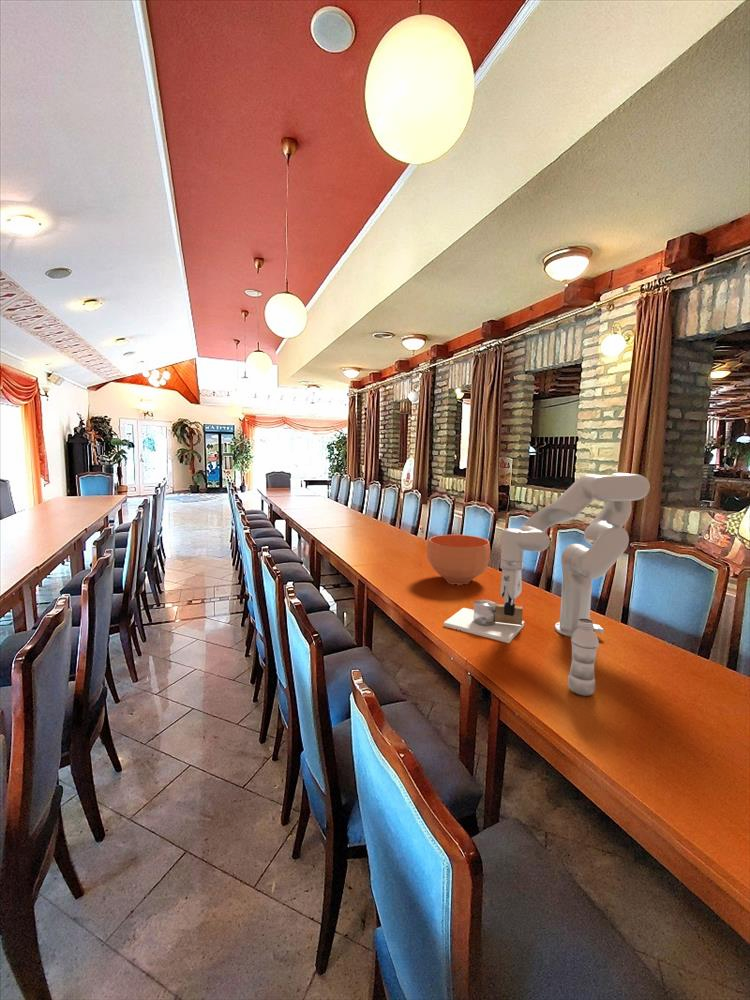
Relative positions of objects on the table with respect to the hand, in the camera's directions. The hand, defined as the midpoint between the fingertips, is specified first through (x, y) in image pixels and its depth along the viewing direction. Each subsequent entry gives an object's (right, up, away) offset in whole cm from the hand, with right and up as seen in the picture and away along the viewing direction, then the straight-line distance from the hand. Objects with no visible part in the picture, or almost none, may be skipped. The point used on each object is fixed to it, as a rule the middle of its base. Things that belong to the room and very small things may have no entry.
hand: (509, 614), depth 152 cm
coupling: (-3, -4, +5) cm, 7 cm away
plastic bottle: (+8, -11, -37) cm, 39 cm away
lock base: (-7, -6, +6) cm, 11 cm away
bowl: (-7, 0, +59) cm, 60 cm away
